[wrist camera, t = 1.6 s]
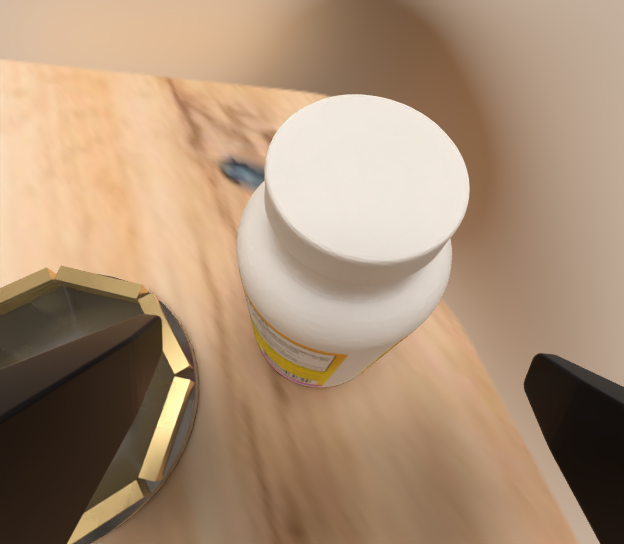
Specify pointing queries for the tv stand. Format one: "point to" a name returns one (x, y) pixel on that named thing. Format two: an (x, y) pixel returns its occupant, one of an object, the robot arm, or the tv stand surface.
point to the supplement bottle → (349, 235)
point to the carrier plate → (158, 400)
